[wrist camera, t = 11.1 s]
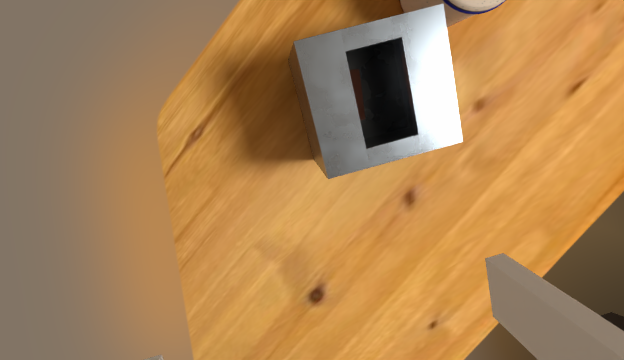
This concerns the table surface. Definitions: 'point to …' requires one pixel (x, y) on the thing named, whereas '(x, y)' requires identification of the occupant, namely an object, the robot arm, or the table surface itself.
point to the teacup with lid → (453, 7)
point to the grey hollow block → (377, 91)
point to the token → (358, 92)
